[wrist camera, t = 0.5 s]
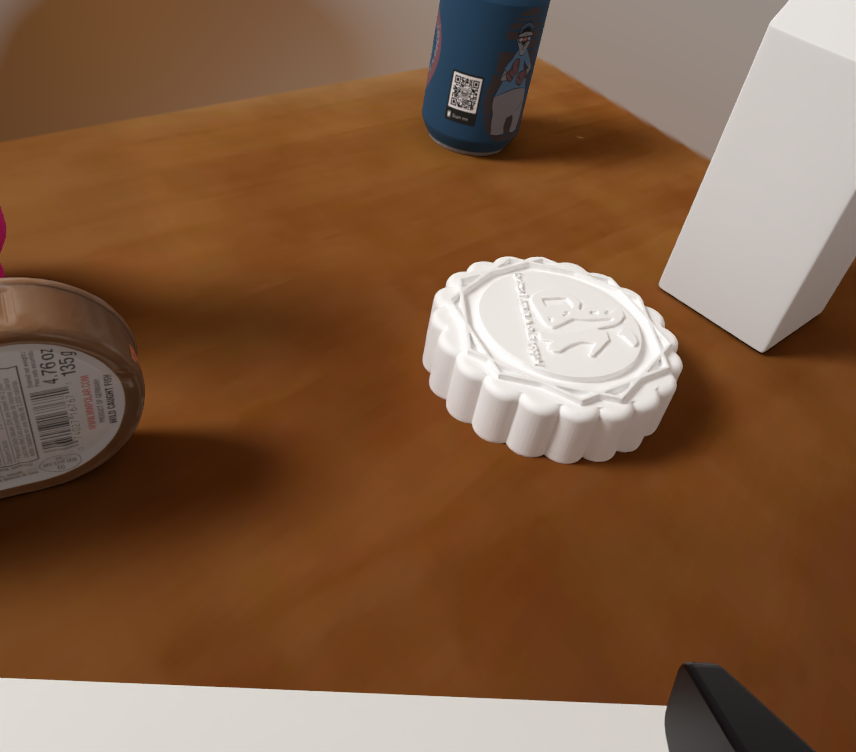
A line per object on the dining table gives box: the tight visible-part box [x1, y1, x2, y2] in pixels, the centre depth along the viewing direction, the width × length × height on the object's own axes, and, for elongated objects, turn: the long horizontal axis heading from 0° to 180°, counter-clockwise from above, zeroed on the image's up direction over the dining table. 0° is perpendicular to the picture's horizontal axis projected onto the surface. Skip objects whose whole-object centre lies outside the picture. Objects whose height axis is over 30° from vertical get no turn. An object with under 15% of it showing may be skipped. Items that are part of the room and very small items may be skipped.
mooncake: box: [423, 257, 683, 464], centre depth 38 cm, size 12×12×4 cm
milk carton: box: [659, 0, 856, 353], centre depth 41 cm, size 7×7×19 cm
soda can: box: [422, 0, 550, 156], centre depth 54 cm, size 7×7×12 cm
